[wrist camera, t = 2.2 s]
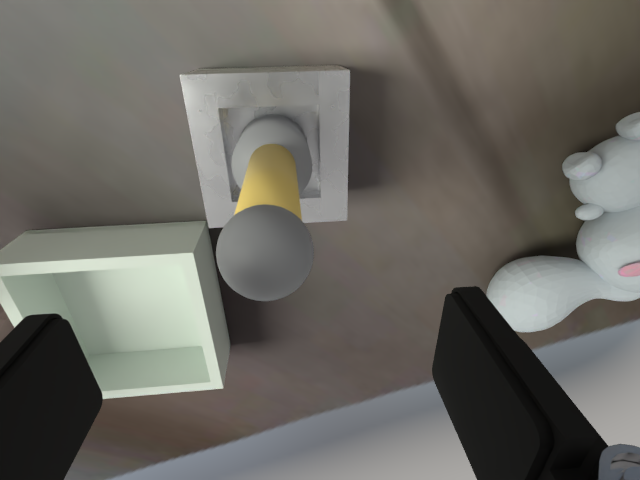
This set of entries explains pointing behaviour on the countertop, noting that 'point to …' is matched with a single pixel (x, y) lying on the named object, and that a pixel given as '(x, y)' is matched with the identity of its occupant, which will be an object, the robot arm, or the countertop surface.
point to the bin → (127, 301)
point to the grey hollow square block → (270, 98)
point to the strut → (268, 212)
